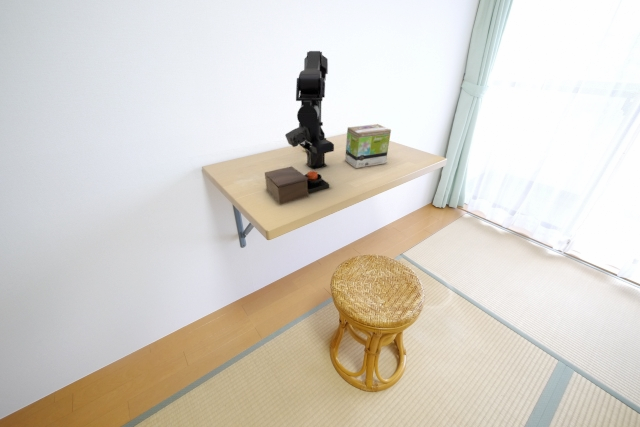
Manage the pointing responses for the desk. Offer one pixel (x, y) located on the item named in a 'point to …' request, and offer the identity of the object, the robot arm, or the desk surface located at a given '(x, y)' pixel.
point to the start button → (312, 175)
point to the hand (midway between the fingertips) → (312, 165)
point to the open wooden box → (287, 191)
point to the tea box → (367, 145)
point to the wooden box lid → (285, 176)
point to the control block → (316, 184)
